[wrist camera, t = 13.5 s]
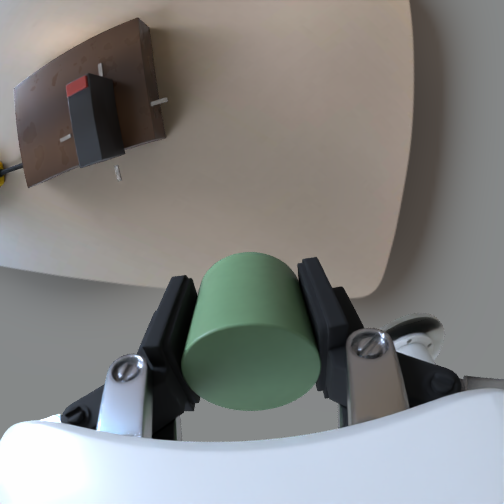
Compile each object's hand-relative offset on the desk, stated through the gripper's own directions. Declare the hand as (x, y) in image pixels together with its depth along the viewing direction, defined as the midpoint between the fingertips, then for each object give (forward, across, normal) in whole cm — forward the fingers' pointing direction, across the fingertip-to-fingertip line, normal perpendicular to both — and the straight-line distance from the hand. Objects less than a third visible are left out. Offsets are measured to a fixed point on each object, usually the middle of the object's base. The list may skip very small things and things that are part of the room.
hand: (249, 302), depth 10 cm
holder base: (+16, +14, -12) cm, 24 cm away
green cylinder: (0, 0, 0) cm, 0 cm away
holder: (+13, +10, -10) cm, 19 cm away
